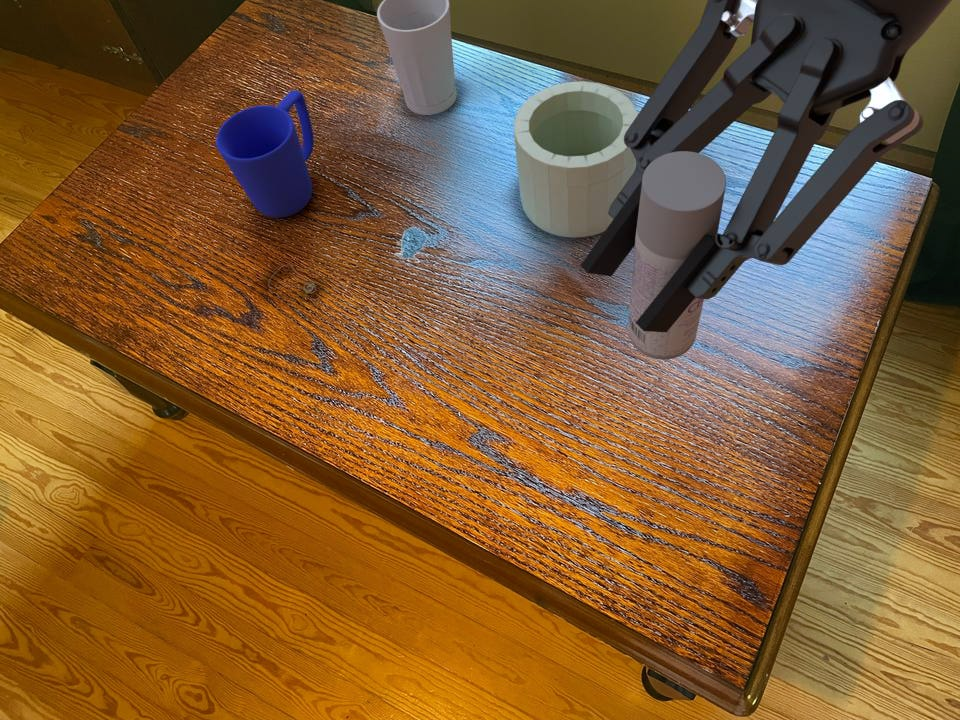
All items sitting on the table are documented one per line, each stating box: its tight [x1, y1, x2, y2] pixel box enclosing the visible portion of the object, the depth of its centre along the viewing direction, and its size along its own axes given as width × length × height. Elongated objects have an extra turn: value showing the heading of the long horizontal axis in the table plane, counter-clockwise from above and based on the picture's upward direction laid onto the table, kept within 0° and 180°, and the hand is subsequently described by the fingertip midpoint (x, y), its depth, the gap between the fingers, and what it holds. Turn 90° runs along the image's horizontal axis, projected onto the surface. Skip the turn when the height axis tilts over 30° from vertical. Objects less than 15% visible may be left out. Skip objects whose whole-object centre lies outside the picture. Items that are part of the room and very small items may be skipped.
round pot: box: [513, 80, 639, 239], centre depth 80 cm, size 12×12×10 cm
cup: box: [376, 0, 458, 116], centre depth 90 cm, size 8×8×12 cm
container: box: [628, 151, 727, 361], centre depth 49 cm, size 5×5×15 cm
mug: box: [215, 89, 315, 219], centre depth 86 cm, size 8×12×10 cm
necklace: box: [267, 264, 317, 294], centre depth 82 cm, size 3×5×1 cm, turn 81°
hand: (623, 298), depth 48 cm, fingers closed on container, 5 cm apart
